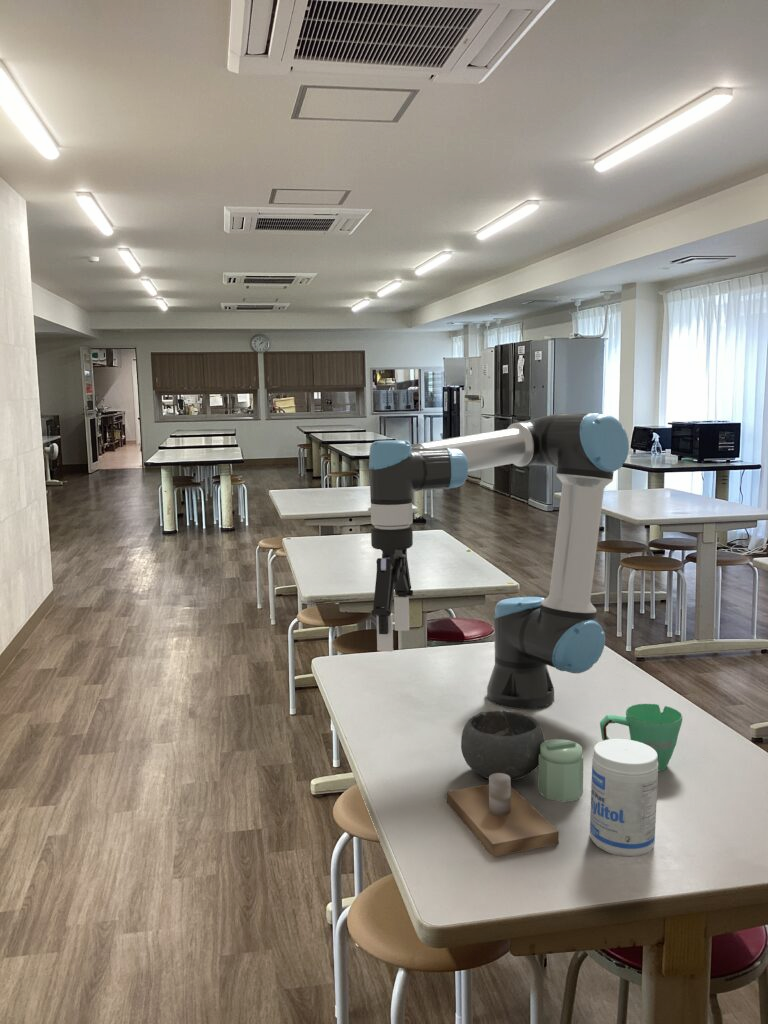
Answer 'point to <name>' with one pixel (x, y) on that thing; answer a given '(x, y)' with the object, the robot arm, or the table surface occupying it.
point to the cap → (561, 770)
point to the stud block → (501, 817)
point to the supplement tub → (624, 797)
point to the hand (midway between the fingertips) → (394, 640)
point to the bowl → (502, 743)
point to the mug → (650, 728)
